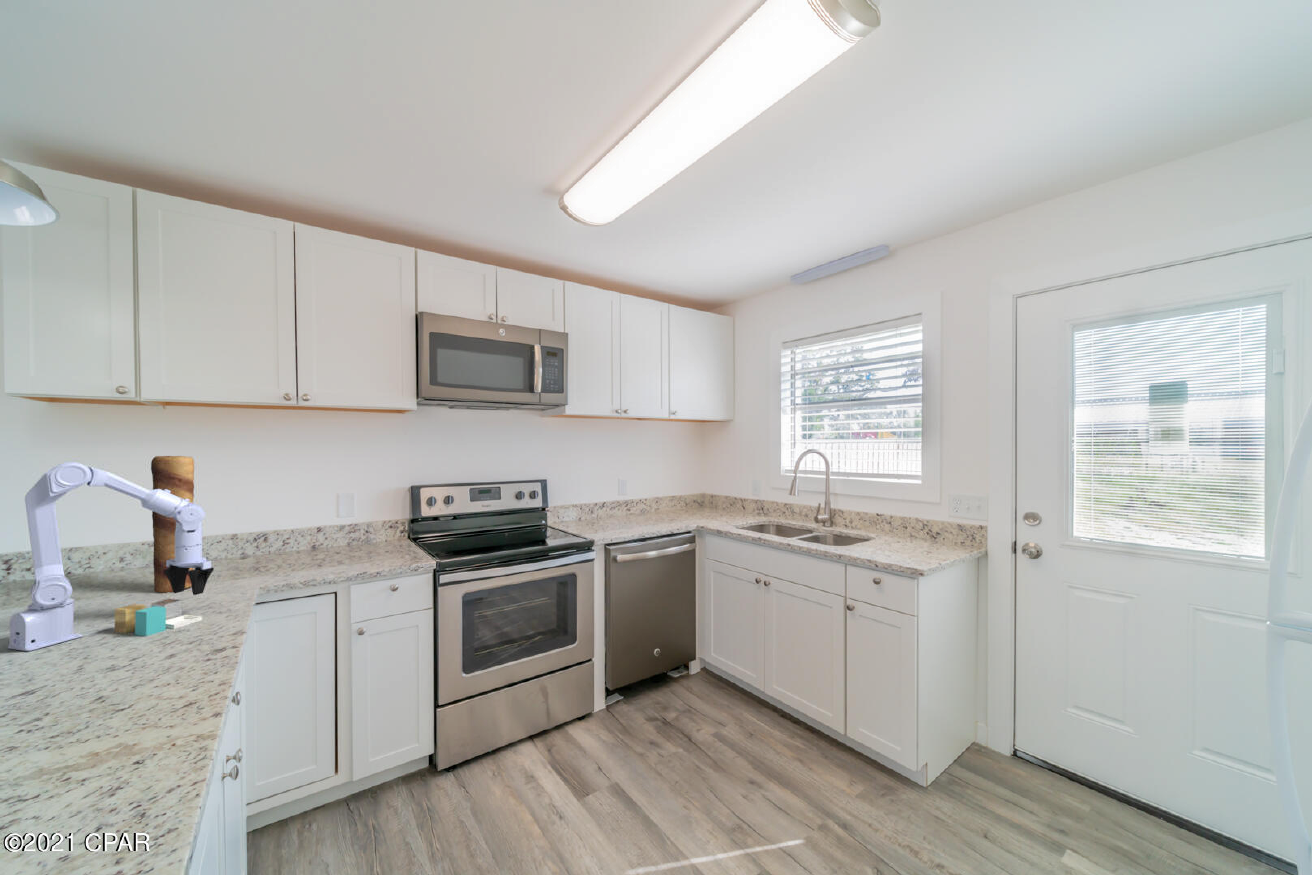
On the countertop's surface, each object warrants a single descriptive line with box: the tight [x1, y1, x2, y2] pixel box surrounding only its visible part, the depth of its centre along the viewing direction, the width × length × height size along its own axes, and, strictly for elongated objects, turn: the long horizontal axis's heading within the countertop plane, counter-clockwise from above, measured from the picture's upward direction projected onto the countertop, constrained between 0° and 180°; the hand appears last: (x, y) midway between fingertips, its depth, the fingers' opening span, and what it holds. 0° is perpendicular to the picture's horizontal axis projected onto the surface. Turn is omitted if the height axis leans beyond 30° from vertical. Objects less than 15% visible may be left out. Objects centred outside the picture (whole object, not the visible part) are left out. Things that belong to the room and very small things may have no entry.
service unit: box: [150, 598, 183, 620], centre depth 136 cm, size 4×5×5 cm
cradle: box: [166, 614, 203, 630], centre depth 133 cm, size 6×6×1 cm
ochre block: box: [114, 603, 146, 634], centre depth 129 cm, size 4×4×6 cm
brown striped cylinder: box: [150, 455, 195, 594], centre depth 167 cm, size 10×11×45 cm
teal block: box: [134, 606, 167, 637], centre depth 127 cm, size 4×4×6 cm
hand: (188, 593), depth 141 cm, fingers open, 7 cm apart
